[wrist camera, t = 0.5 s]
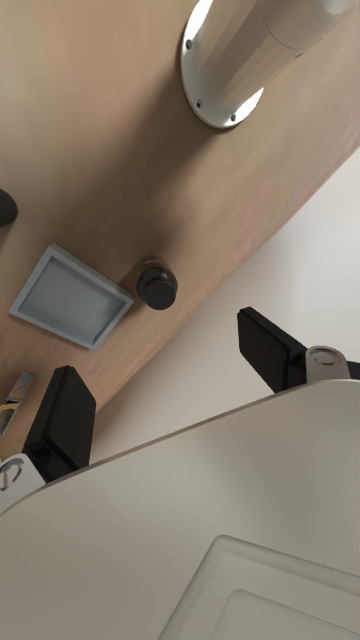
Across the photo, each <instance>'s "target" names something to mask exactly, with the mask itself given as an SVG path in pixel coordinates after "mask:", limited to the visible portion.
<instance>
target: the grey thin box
mask: <svg viewBox="0 0 360 640" xmlns="http://www.w3.org/2000/svg"><path fill="white" fill-rule="evenodd" d="M34 377H35V375H34V374H30V373H26V372H23V371H22V373H21V375H20V376H19V378H18V380H17V381H16V383H15V385H14V386H13V388H12V390H11V391H10V393H9V395H8V396H7V398H6V401H5V402H4V404H3V405H1V407H0V437H3V435H4V434H5V432H6V430H7V428H8V426H9V424H10V423H11V421H12V419H13V417H14V415H15V413H16V412H17V410H18V408H19V406H20V404H21V403H22V401H23V399H24V397H25V395H26V393H27V391H28V389H29V387H30V385H31V383H32V381H33V379H34ZM10 401H15V402H19V403H15V404H12V403H11V402H10Z"/></svg>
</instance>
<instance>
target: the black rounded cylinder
mask: <svg viewBox="0 0 360 640" xmlns="http://www.w3.org/2000/svg"><path fill="white" fill-rule="evenodd" d="M17 213H18V210H17V206H16V204H15V202H14V200H13V199H12V197H11V196H10V195H9V194H8V193H6V192H5V191H3V190H2V189H0V227H2V226H4V225H7V224H9V223H11V222H13V221H14V220H15V219H16V217H17Z"/></svg>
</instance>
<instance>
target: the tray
mask: <svg viewBox="0 0 360 640" xmlns="http://www.w3.org/2000/svg"><path fill="white" fill-rule="evenodd" d="M134 302H135V300H134V295H132V294H131V293H129V292H128V291H126V290H125V289H123V288H122V287H120V286H119V285H117V284H116V283H114V282H113V281H111V280H110V279H108V278H107V277H105V276H104V275H102V274H101V273H99V272H98V271H96V270H94V269H93V268H91V267H90V266H88V265H87V264H85V263H84V262H82V261H81V260H79V259H78V258H76V257H75V256H73V255H72V254H70V253H69V252H67V251H66V250H64V249H63V248H61V247H60V246H58V245H57V244H55V243H53V244H51V245H49V246H48V247H47V249H46V251H45V252H44V254H43V256H42V257H41V259H40V260H39V262H38V264H37V265H36V267H35V269H34V270H33V272H32V273H31V275H30V277H29V278H28V280H27V282H26V283H25V285H24V287H23V288H22V290H21V291H20V293H19V295H18V296H17V298H16V300H15V301H14V303H13V304H12V306H11V308H10V309H9V311H8V313H10V314H13V315H15V316H17V317H19V318H22V319H24V320H26V321H28V322H30V323H33V324H35V325H37V326H39V327H42V328H44V329H46V330H48V331H51V332H53V333H55V334H57V335H59V336H62V337H64V338H66V339H68V340H71V341H73V342H75V343H77V344H79V345H82V346H84V347H86V348H88V349H91V350H93V351H95V350H96V349H97V348H98V347H99V345H100V344H101V343H102V342H103V340H104V339H105V338H106V337H107V335H108V334H109V333H110V332H111V330H112V329H113V328H114V327H115V325H116V324H117V323H118V322H119V320H120V319H121V318H122V317H123V315H124V314H125V313H126V312H127V310H128V309H129V308H130V307H131V305H132V304H133V303H134Z"/></svg>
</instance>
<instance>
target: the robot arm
mask: <svg viewBox="0 0 360 640" xmlns="http://www.w3.org/2000/svg"><path fill="white" fill-rule="evenodd" d="M358 1H359V0H199V2H198V3H197V4H196V6H195V7H194V9H193V11H192V13H191V15H190V17H189V20H188V22H187V25H186V28H185V31H184V36H183V40H182V45H181V54H180V70H181V77H182V84H183V87H184V91H185V94H186V97H187V99H188V102H189V104H190V106H191V107H192V109H193V111H194V112H195V114H196V115H197V116H198V117H199V118H200V119H201V120H202V121H203V122H205V123H206V124H208V125H209V126H212V127H215V128H221V129H224V128H230V127H232V126H234V125H236V124H238V123H239V122H241V121H242V120H244V119H245V118H246V117H247V116H248V115H249V114H250V113H251V111H252V110H253V109H254V107H255V106H256V104H257V102H258V100H259V98H260V96H261V94H262V91H263V88H264V87H265V86H266V85H267V84H268V83H269V82H271V81H272V80H273V79H274V78H276V77H277V76H278V75H279V74H280V73H282V72H283V71H284V70H285V69H286V68H288V67H289V66H290V65H291V64H292V63H294V62H295V61H296V60H297V59H298V58H300V57H301V56H302V55H303V54H304V53H306V52H307V51H308V50H309V49H310V48H312V47H313V46H314V45H315V44H316V43H318V42H319V41H320V40H321V39H322V38H323V37H325V36H326V35H327V34H328V33H329V32H330V31H332V30H333V29H334V28H335V27H336V26H337V25H338V24H339V23H340V22H341V21H342V20H343V19H344V18H345V17H346V16H347V15H348V14H349V12H350V11H351V10H352V9H353V8H354V6H355V5H356V4H357V3H358ZM186 47H188V48H189V50H188V49H187V48H186ZM197 104H198V105H199V108H198V107H197ZM231 118H232V121H231ZM237 320H238V333H239V334H238V335H239V349H240V352H241V354H242V355H243V356H244V358H245V359H246V360H247V361H248V362H249V364H250V365H251V366H252V367H253V368H254V369H255V371H256V372H257V373H258V374H259V375H260V376H261V377H262V379H263V380H264V381H265V382H266V383H267V385H268V386H269V387H270V388H271V389H272V390H273V392H274V393H275V394H273V395H270V396H267V397H265V398H262V399H259V400H257V401H254V402H251V403H249V404H246V405H243V406H241V407H238V408H235V409H233V410H230V411H228V412H225V413H222V414H220V415H217V416H214V417H212V418H209V419H207V420H204V421H201V422H199V423H196V424H193V425H191V426H188V427H186V428H183V429H181V430H178V431H175V432H173V433H170V434H168V435H165V436H162V437H160V438H157V439H155V440H152V441H149V442H147V443H145V444H142V445H139V446H137V447H134V448H132V449H129V450H126V451H124V452H121V453H119V454H116V455H114V456H111V457H109V458H106V459H103V460H101V461H99V462H96V463H94V464H91V465H89V459H90V450H91V443H92V435H93V426H94V418H95V411H96V401H95V399H94V397H93V396H92V394H91V393H90V391H89V389H88V388H87V386H86V385H85V383H84V382H83V380H82V379H81V377H80V376H79V374H78V373H77V371H76V370H75V368H74V367H70V366H69V365H66V366H63V367H60V368H57V369H55V371H54V373H53V376H52V378H51V381H50V383H49V385H48V388H47V390H46V393H45V395H44V397H43V400H42V402H41V405H40V407H39V410H38V412H37V414H36V417H35V419H34V422H33V424H32V426H31V429H30V431H29V434H28V436H27V438H26V441H25V443H24V448H23V450H22V453H21V454H20V453H19V454H16V455H13V456H11V457H9V458H8V459H6V460H5V461H3V462H2V463H1V464H0V640H360V363H357V362H351V361H346V359H345V357H344V355H343V354H342V353H341V352H339V351H338V350H336V349H334V348H331V347H327V346H314V347H311V348H309V349H307V348H306V347H305V346H303V345H302V344H301V343H300V342H298V341H297V340H296V339H294V338H293V337H291V336H290V335H289V334H287V333H286V332H285V331H283V330H282V329H280V328H279V327H278V326H276V325H275V324H274V323H272V322H271V321H269V320H268V319H267V318H265V317H264V316H263V315H261V314H260V313H259V312H257V311H256V310H254V309H253V308H252V307H246V308H243V309H240V311H239V313H237Z"/></svg>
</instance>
